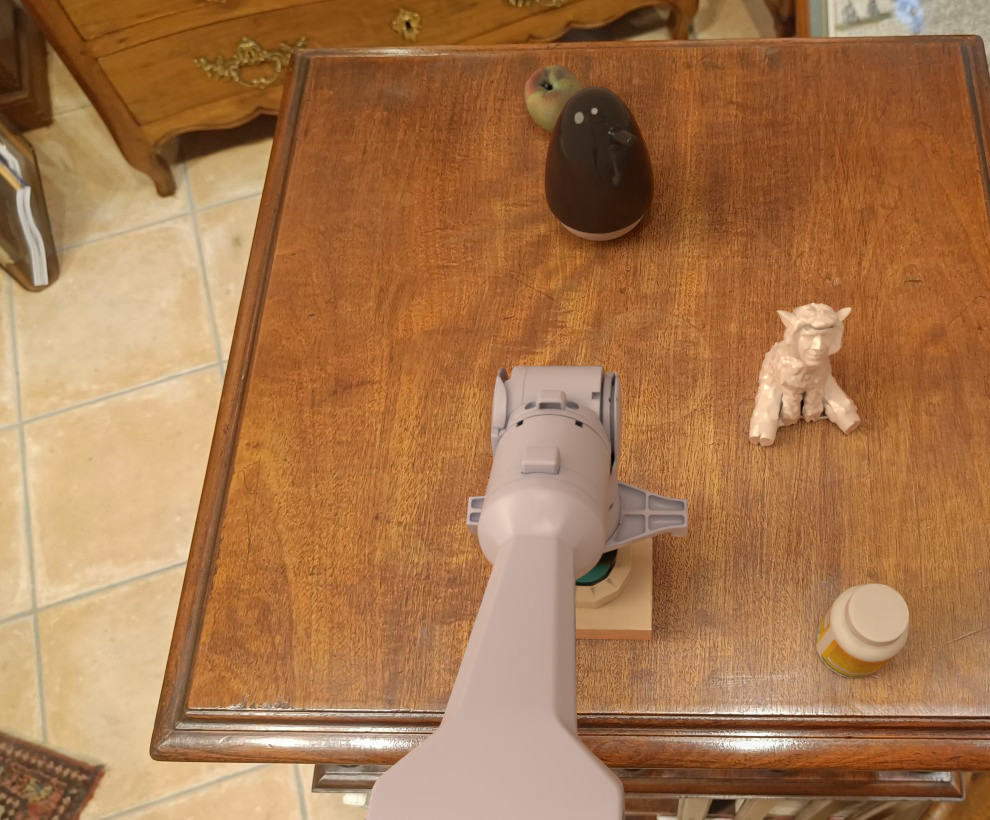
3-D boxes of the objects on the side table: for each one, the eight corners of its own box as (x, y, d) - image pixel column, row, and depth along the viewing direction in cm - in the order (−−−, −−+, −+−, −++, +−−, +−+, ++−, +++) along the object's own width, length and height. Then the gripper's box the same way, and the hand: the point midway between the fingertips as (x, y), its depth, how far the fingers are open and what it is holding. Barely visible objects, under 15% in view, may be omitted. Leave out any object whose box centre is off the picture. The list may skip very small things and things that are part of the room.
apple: (589, 89, 97) (586, 44, 92) (583, 146, 94) (579, 103, 88) (533, 87, 98) (527, 42, 92) (524, 145, 94) (517, 101, 89)
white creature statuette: (749, 452, 77) (765, 383, 67) (727, 364, 81) (739, 286, 71) (860, 434, 78) (893, 363, 67) (832, 348, 82) (860, 267, 71)
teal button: (612, 589, 69) (611, 582, 68) (559, 588, 69) (557, 581, 68) (613, 538, 71) (612, 530, 69) (561, 537, 71) (559, 529, 70)
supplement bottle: (805, 617, 71) (826, 581, 62) (871, 602, 71) (902, 563, 63) (828, 688, 68) (853, 660, 60) (897, 671, 69) (932, 641, 60)
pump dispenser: (594, 277, 86) (584, 165, 73) (528, 211, 90) (507, 92, 77) (677, 220, 89) (682, 101, 75) (609, 158, 93) (602, 35, 79)
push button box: (651, 640, 71) (652, 624, 66) (522, 637, 71) (513, 621, 67) (652, 517, 75) (652, 494, 71) (530, 515, 76) (523, 492, 71)
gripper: (689, 428, 58) (682, 506, 70) (461, 426, 59) (493, 504, 71) (691, 534, 55) (683, 597, 67) (449, 531, 56) (485, 594, 68)
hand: (585, 555), depth 69 cm, fingers closed, pressing on teal button
